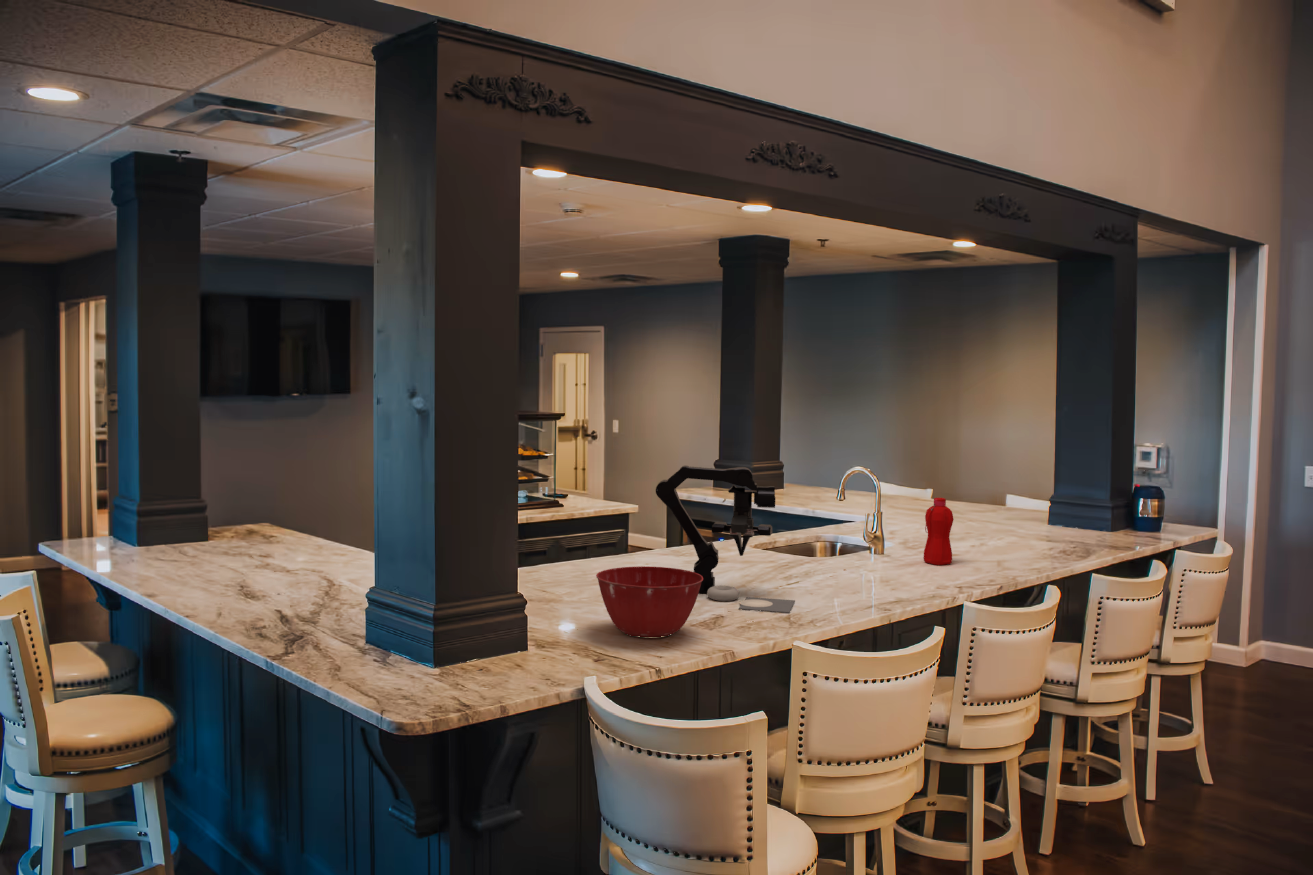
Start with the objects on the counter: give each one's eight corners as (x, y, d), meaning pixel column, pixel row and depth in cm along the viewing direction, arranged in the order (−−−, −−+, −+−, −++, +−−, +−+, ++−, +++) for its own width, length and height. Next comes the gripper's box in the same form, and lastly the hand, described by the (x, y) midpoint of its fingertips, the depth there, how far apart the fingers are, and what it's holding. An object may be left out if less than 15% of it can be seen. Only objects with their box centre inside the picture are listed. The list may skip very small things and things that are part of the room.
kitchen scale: (735, 609, 286) (735, 607, 286) (743, 597, 301) (743, 596, 301) (789, 613, 282) (789, 611, 282) (795, 601, 298) (795, 599, 298)
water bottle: (916, 562, 368) (918, 497, 367) (938, 560, 373) (941, 496, 372) (932, 566, 360) (935, 499, 358) (955, 564, 365) (958, 498, 363)
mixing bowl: (642, 614, 278) (643, 560, 277) (723, 631, 260) (724, 574, 259) (573, 632, 256) (574, 574, 255) (656, 653, 238) (657, 591, 237)
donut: (745, 601, 297) (729, 593, 307) (745, 590, 297) (729, 583, 306) (716, 603, 293) (701, 596, 302) (716, 592, 293) (701, 585, 302)
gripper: (709, 508, 301) (707, 558, 302) (768, 511, 297) (767, 561, 298) (715, 504, 312) (714, 552, 313) (773, 507, 308) (771, 555, 309)
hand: (741, 555), depth 308 cm, fingers closed
